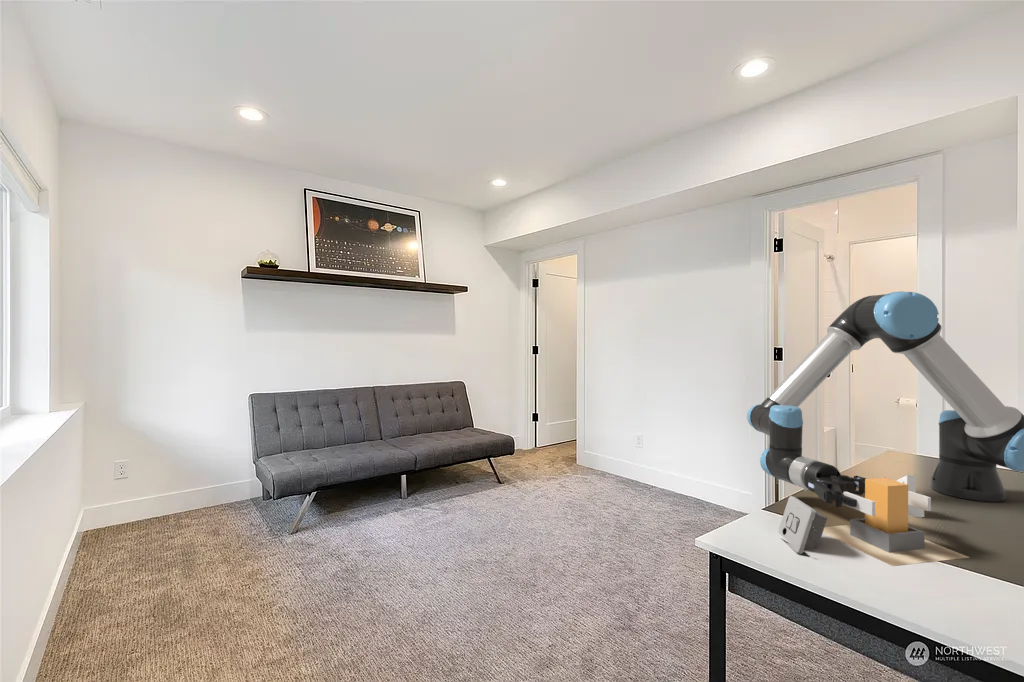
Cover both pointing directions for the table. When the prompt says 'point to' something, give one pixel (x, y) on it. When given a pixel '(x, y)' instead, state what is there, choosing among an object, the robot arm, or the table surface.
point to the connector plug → (887, 504)
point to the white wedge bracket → (912, 487)
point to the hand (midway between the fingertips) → (902, 506)
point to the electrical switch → (801, 525)
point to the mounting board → (894, 558)
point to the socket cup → (887, 537)
